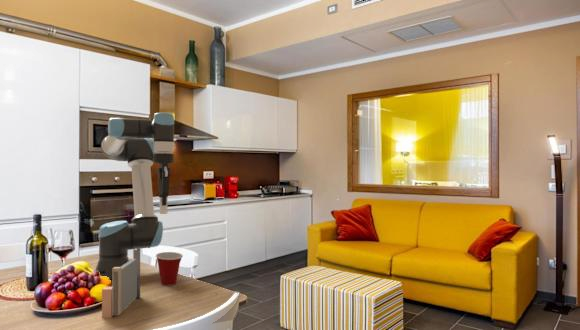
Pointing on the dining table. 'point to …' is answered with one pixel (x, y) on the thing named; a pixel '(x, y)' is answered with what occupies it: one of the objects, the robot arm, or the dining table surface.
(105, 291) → the post
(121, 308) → the panel
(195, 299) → the dining table surface
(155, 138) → the robot arm
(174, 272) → the plastic cup
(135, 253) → the gate post
